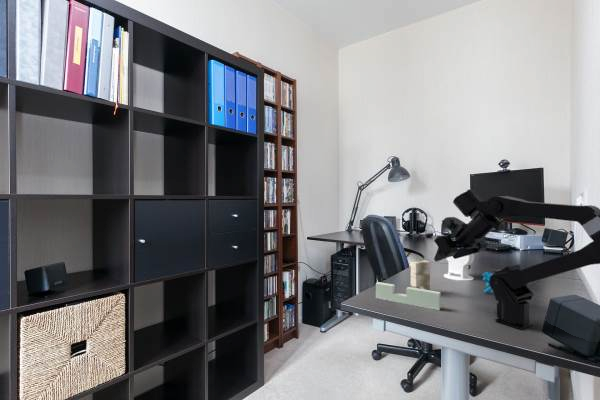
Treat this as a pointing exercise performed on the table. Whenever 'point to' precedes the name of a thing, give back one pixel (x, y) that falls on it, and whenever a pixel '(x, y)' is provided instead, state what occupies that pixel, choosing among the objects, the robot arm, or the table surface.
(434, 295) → the sage slotted plate
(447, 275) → the white bracket stand
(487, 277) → the blue lumpy piece
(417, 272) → the ash notched plate
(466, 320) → the table surface
